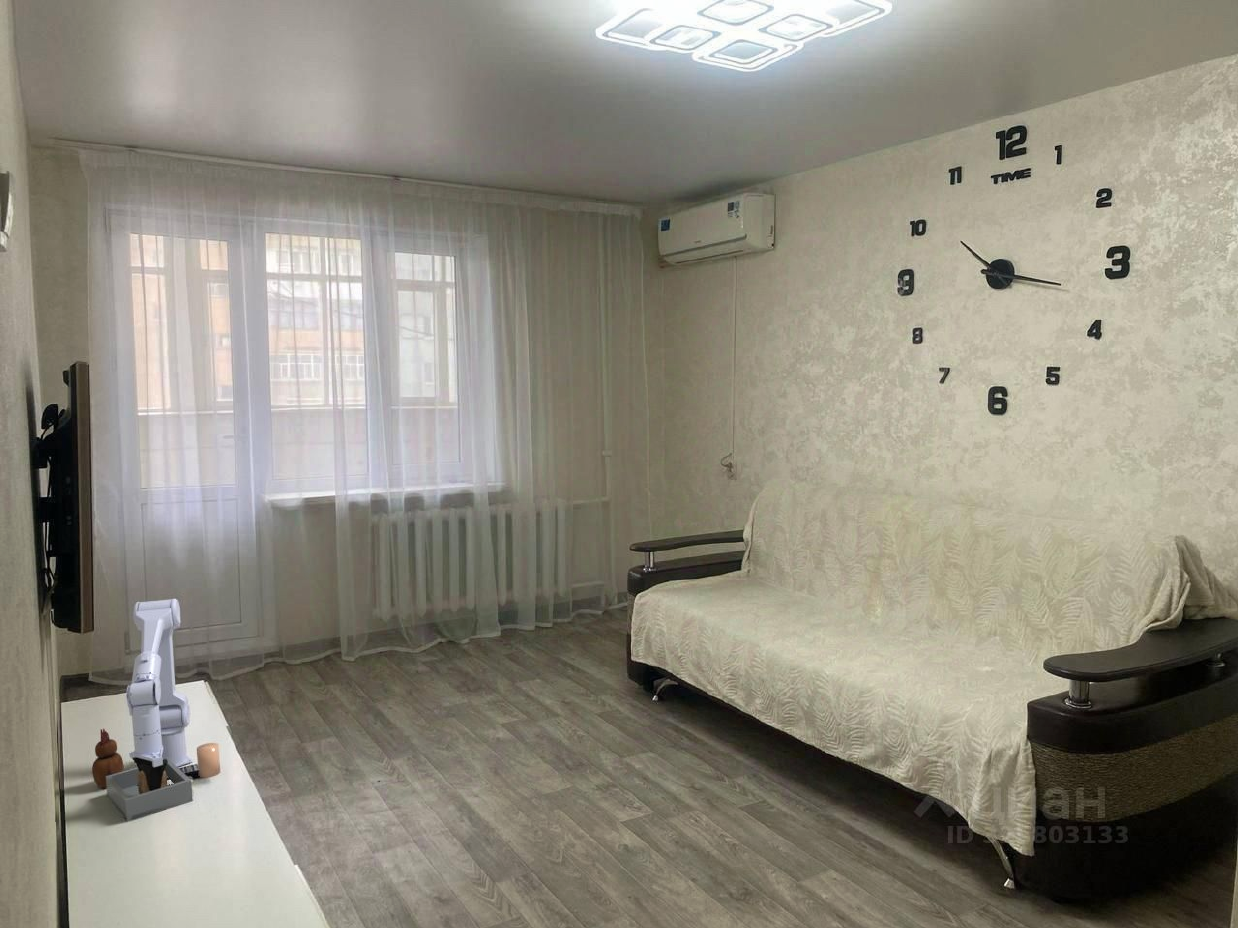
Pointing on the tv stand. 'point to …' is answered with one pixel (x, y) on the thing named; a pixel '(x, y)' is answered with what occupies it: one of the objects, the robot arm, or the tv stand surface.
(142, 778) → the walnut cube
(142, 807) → the tote
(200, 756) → the terracotta cylinder
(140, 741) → the robot arm
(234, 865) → the tv stand surface
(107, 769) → the wooden figurine
